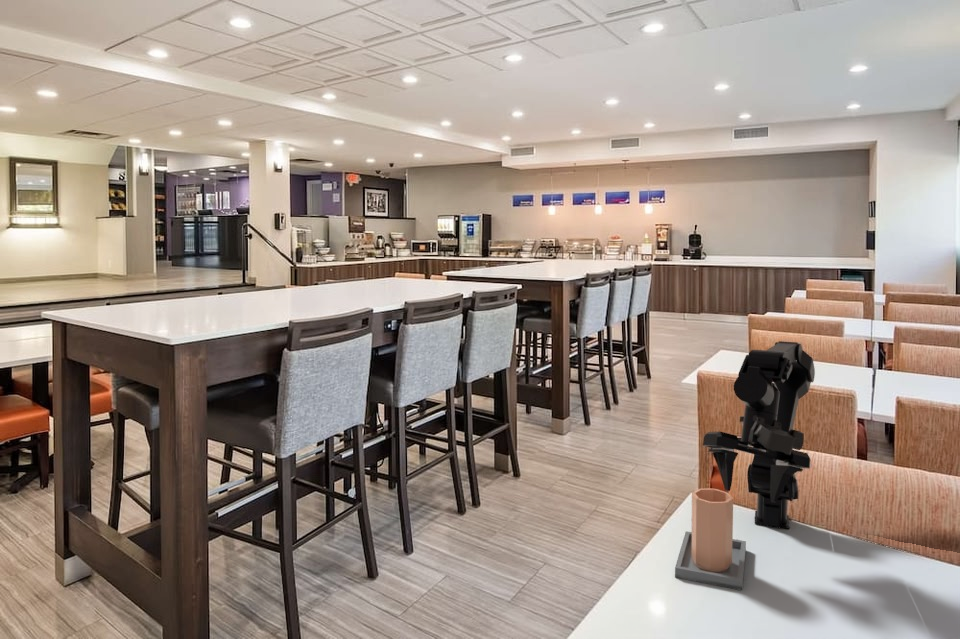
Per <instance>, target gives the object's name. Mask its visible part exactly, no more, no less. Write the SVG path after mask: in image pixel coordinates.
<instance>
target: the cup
mask: <svg viewBox="0 0 960 639" xmlns="http://www.w3.org/2000/svg"><path fill="white" fill-rule="evenodd" d="M733 522H734V497H733V496H732V495H731V494H730V493H729V491H726V490H725V491H724V490H721V489H717V488H698V489H695V491H693V492H691V532H692V546H691V556H692V558H693V562H694V564H695V566H696V567H698V568H699V569H701V570H704V571H707V572H713V573H722V572H725V571H727V570H729V568H730V565H731V564H732V539H734V536H733V535H734V534H733V532H734V531H733V530H734V528H733V526H734V523H733Z"/></svg>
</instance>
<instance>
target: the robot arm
mask: <svg viewBox="0 0 960 639" xmlns="http://www.w3.org/2000/svg"><path fill="white" fill-rule="evenodd" d="M815 368H816V367H815V364H814V359H813V357H812V356H810V355H809V354H808V353H807V352H806V351H804V350H803V346H802V343H799V342H797V341H783V340H781V341H780V340H779V341H776V342H775V343H774V345H772V346H771V347H769V348H767V349H766V350H764V349H751V350H749V353H748V354H746V355H745V357H744V359H743V362H742V364H741V367H740V369H739V372H738V374H737V376H738V377H737V378H736V379H735V381H734V383H733V391H734V394H735V396H736V397H737V398H738V399H739V400H740V401H741V402H742V403H744V404H745V406H744V414H743V416H740V417H739V422H740V423H742V429H741V430H742V431H741V437H739V436H738V435H735V434H731V433H727V432H724V431H720V430H719V431H708V432H706V433H705V434H704V436H703V440H702V446H703V447H707V448H709V449H708V452H709V453H711V454H712V455H713V458H714V461H715V463H716V465H717V468H718V471H719V473H720V477H721V481H722V483H723V484H722V485H723V487H724V490H725V492H730V491H731V487H732V484H733V474H734V463H735V461H736V459H737V457H738V455H739V452H744V453H747V454H750V455H751V454H752V455H753V459H752V462H751V463H750V464H748V468H747V472H746V473H747V474H746V475H747V486H748V489H747V490H748V493H750V494H751V493H754V494H757V499H756V500H757V502H756V503H757V504H756V506H757V507H756V510H755V511H754V525H756V526H762V527H770V528H774V529H783V530H790V516H789V514H788V501H789V502H793V500H799V486H798V480H797V478H796V473H799V472H802V471H804V469H808V470H809V469H810V468H811V458H810V455H809V454H808V453H807V452H803V451H801V450H802V449H803V446H804V443H805V439H804V438H805V434H804V432H802V431H800V430H797V429H794V424H795V420H796V414H797V410H798V404H799V400H800V399H801V398H803V397H804V396H806V395H807V393H808V392H809V391H810V388H811V384H812V383H814V380H815V377H816V376H815V374H816V371H815ZM734 450H735V451H739V452H735V451H734Z"/></svg>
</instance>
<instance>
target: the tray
mask: <svg viewBox="0 0 960 639" xmlns="http://www.w3.org/2000/svg"><path fill="white" fill-rule="evenodd" d="M683 536H684V537H683V539H682V543H681V547H680V550H679V553H678V556H677V560H676V563H675V567H674V578H676V579H677V578H678V579H681V580H688V581H691V582H693V581H694V582H698V583H702V584H708V585H713V586H716V587H717V586H718V587H723V588H727V589H731V590H733V589H734V590H736V591H737V590H738V591H743V589H744V588H743V587H744V577H745V565H746V550H747V541H746V540H740V539H734V538H733V539H732V564H731V565H730V568H729V570H727V571H725V572H722V573H713V572H707V571H704V570H701V569H699V568H698V567H696V566H695V564H694V562H693V558H692V556H691V546H692V531H685V532H684V535H683Z"/></svg>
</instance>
